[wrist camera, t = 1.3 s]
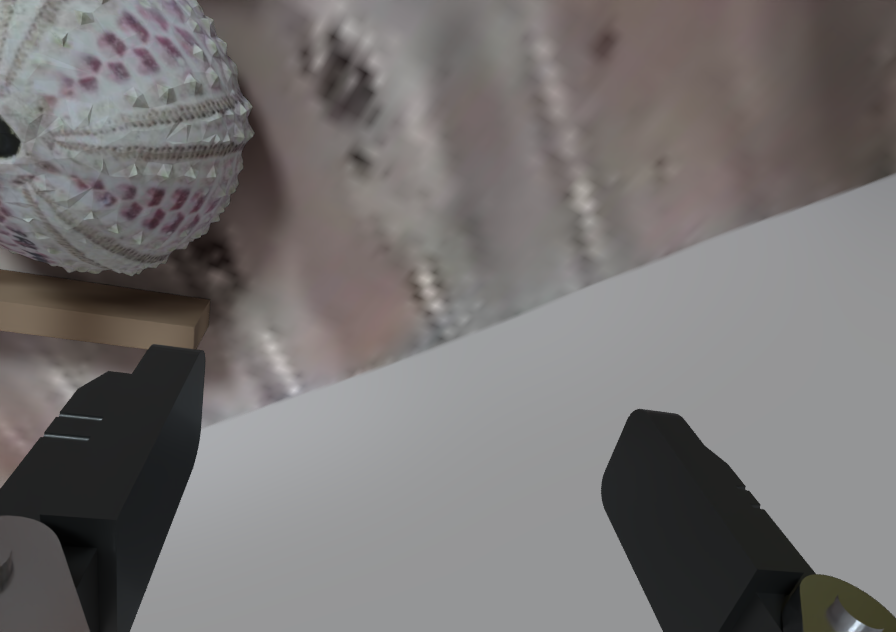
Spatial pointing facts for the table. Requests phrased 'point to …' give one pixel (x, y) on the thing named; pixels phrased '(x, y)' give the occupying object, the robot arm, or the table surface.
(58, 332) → the track
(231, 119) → the sea urchin shell
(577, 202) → the table surface
